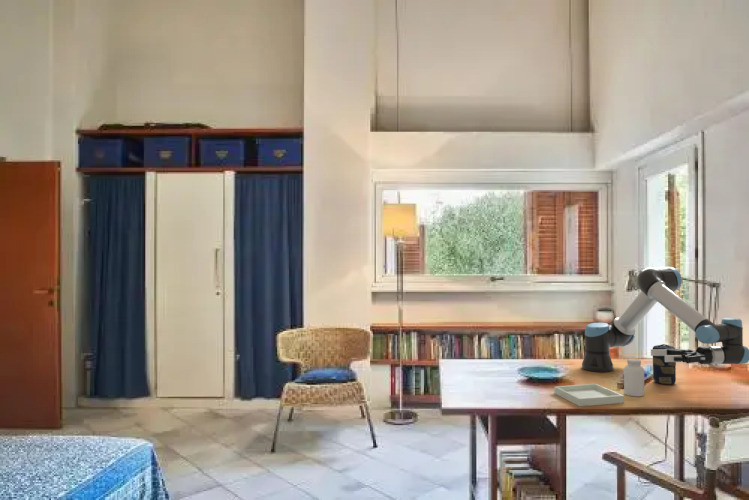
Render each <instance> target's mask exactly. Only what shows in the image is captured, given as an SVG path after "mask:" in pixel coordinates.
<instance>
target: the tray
mask: <svg viewBox="0 0 749 500" xmlns="http://www.w3.org/2000/svg"><path fill="white" fill-rule="evenodd" d="M553 387H554V389H553V390H554V394H555V395H556V396H559V397H561V398H563V399H565V400H567V401H569V402H570V403H573V404H574V405H577V406H578V407H587V406H588V407H590V406H601V405H602V406H603V405H612V404H613V405H614V404H624V403H625V395H624V394H621V393H619V392H617V391H614V390H612V389H610V388H607V387H604V386H602V385H599V384H597V383H587V384H586V383H585V384H573V385H560V386H559V385H558V386H553Z"/></svg>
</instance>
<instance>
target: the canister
mask: <svg viewBox="0 0 749 500" xmlns="http://www.w3.org/2000/svg"><path fill="white" fill-rule="evenodd" d="M665 348H667V349H676V347H674V346H672V345H669V344H665V343H664V344H663V343H662V344H657V345H653V346H652V349H665ZM676 365H677V362H665V356H652V375H653V376H652V380H653V381H654V382H655V383H659V384H661V385H662V384H664V385H673V384H675V383H676V381H677V375H676V374H677V372H676Z"/></svg>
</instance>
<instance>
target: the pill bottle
mask: <svg viewBox="0 0 749 500" xmlns="http://www.w3.org/2000/svg"><path fill="white" fill-rule="evenodd" d="M626 362H627V365H625V366H624V368H623V392H624V394H625V395H626V396H629V397H639V398H640V397H643V396H644V395H645V368H644V367H643V366H642V360H641V359H638V358H628V359H627V360H626Z"/></svg>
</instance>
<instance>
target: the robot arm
mask: <svg viewBox="0 0 749 500" xmlns="http://www.w3.org/2000/svg"><path fill="white" fill-rule="evenodd" d="M636 284H637V287H638V288H639V290H640V293H638V295H637V296H636V297H635V299H634V300H633V301H632V302H631V303H630V305H628V307H627V308H626V309H625V311H624V312H623V313H622V314H621V316H620V317H615V318H614V319H613V321H612V322H611V323H610V324H608V323H607V322H591V323H589V324H586V326H585V328H584V329H585V330H584V341H585V342H584V347H585V348H584V349H585V351H584V352H585V353H584V357H583V359H582V361H581V362H582V363H581V369H583V370H585V371H589V372H595V373H598V372H599V373H605V372H607V373H608V372H612V371H614V364H613V362H612V361H613V360H612V359H611V355H610V348H617V347H626V346H628V345H630V344H632V343H633V342H634V339H635V337H636V336H635V334H636V327H637V326H638V325H639V324H640V322H641V321H642V320H643V319H644V318H645V317H646V316H647V314H648V313H649V312H650V311H651V310H652V308H653V307H654V306H655V305H656V304H657V303H659V304H660V305H661V306H662V307H664V308H665V309H666V310H667V311H668V312H670V313H671V314H672V315H674V316H675V317H676V318H677V319H679V320H680V321H681V322H682V323H684V325H686V326H687V327H689V329H690V330H692V331H693V332H695V337H696V339H697V340H698V342H700V343H701V344H708V345H709V344H710V345H709V346H707V345H705V346H704V345H703V346H702V345H699V346H697V347H696V349H695V350H693V349H682V348H679V349H678V348H675V349H667V348H665V349H653V348H651V349H650V356H651V357H653V356H665V362H676V363H685V364H693V363H699V364H700V365H714V366H718V365H740V364H741V365H743V364H747V363H749V348H748V347H747V346H745V345H744V344H743V343H744V339H743V335H744V331H743V329H744V327H743V322H742V319H741V318H736V317H723V318H721V322H720V323H717V324H715V323H714V322H713V321H711V320H709V319H708V318H707V317H706V316H704V315H703V314H702V313H701V312H699V311H698V310H696V308H694V307H693V306H692V305H691V304H689V303H688V302H686V300H684V299H682V298H681V297H680V296H679V295H677V294H676V293H675V292H674V291H677V290H679V289H680V288H681V286H682V284H683V279H682V274H681V273H680V271H679V270H678V269H677V268H675V267H672V266H657V267H653V266H651V267H646V268H644V269H642V270H641V271H640V272H639V273H638V275H637V279H636ZM716 343H721V345H720V346H719V345H711V344H716Z"/></svg>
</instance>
